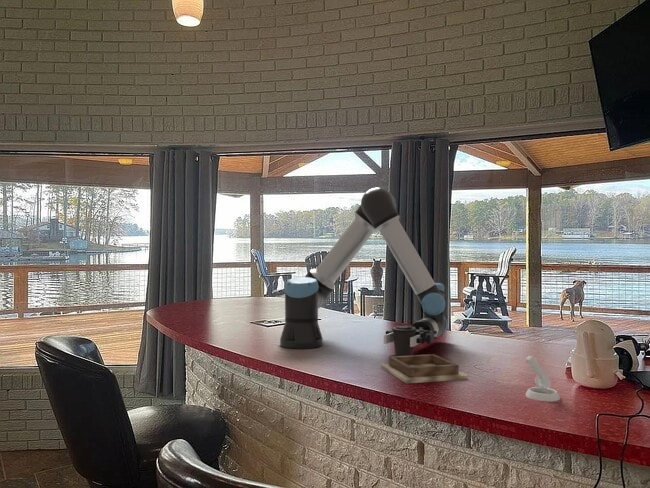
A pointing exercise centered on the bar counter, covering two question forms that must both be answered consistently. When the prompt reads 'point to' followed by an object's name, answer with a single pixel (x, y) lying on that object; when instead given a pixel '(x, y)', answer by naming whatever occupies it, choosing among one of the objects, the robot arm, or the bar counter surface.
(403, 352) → the coffee cup
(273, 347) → the bar counter surface
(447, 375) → the collar board
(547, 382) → the white ring with rod
